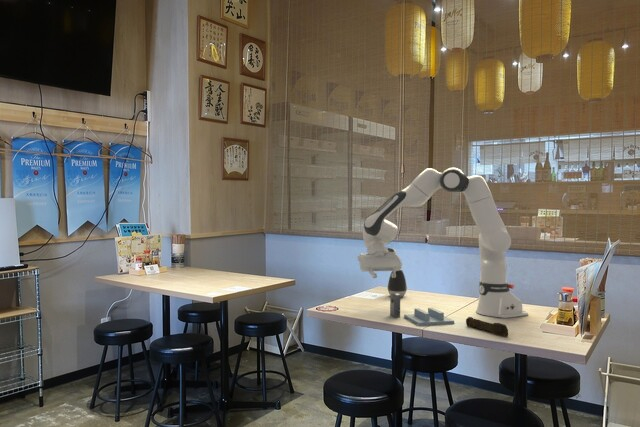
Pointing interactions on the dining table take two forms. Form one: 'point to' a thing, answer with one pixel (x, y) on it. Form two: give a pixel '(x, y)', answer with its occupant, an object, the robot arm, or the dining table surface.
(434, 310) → the keeper
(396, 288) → the black egg shape
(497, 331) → the dark brown bar
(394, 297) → the end link
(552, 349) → the dining table surface
